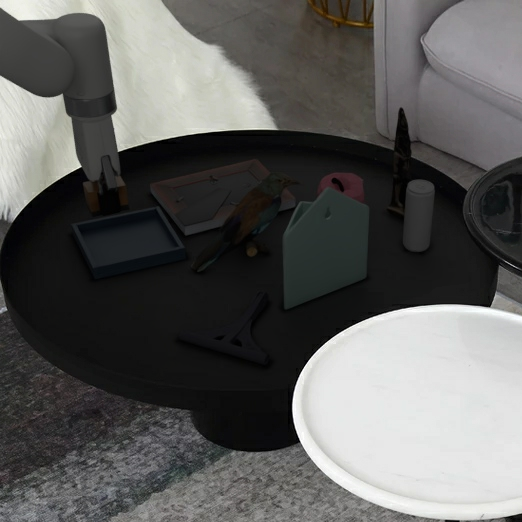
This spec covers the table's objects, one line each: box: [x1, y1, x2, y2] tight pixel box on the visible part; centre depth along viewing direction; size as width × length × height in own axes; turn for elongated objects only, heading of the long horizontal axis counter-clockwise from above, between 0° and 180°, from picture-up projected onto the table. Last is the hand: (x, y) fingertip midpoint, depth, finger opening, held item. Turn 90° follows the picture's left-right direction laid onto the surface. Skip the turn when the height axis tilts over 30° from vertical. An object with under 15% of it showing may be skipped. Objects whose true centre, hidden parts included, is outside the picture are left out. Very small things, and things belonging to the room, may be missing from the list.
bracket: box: [178, 290, 270, 366], centre depth 155 cm, size 14×15×3 cm
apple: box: [316, 172, 366, 205], centre depth 177 cm, size 10×9×10 cm
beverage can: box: [402, 179, 436, 253], centre depth 172 cm, size 5×5×12 cm
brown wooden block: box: [82, 174, 130, 218], centre depth 160 cm, size 6×4×4 cm, turn 117°
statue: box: [386, 106, 413, 220], centre depth 177 cm, size 4×7×20 cm, turn 49°
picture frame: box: [149, 158, 297, 237], centre depth 183 cm, size 16×2×22 cm
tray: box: [70, 205, 187, 280], centre depth 171 cm, size 16×15×2 cm
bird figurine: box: [190, 171, 303, 273], centre depth 168 cm, size 13×10×20 cm
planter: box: [282, 187, 370, 310], centre depth 160 cm, size 16×8×20 cm, turn 127°
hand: (107, 205), depth 161 cm, fingers closed on brown wooden block, 3 cm apart
